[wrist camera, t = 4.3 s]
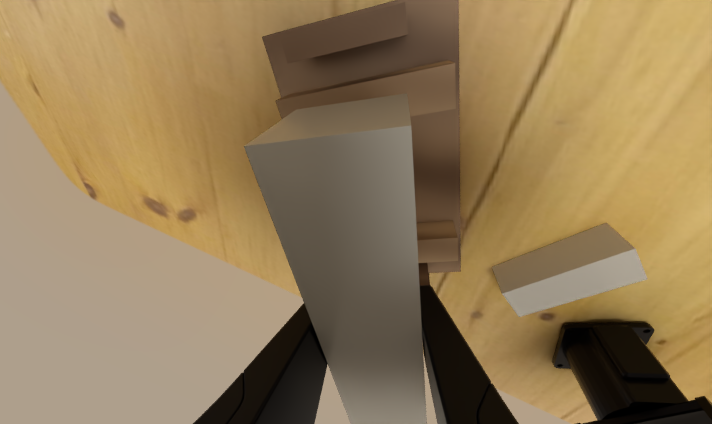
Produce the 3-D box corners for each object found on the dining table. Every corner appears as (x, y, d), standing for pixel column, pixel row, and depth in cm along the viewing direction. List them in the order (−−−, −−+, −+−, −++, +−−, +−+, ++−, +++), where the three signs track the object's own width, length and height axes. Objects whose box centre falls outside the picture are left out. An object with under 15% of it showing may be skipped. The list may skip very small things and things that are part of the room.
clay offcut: (519, 316, 21) (506, 287, 23) (647, 279, 17) (616, 248, 20) (502, 293, 20) (490, 264, 22) (635, 248, 16) (603, 220, 19)
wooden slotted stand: (458, 262, 22) (471, 314, 18) (341, 269, 24) (329, 316, 20) (454, -14, 13) (479, -38, 9) (269, 36, 15) (220, 36, 11)
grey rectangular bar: (422, 358, 13) (427, 434, 11) (360, 356, 14) (352, 427, 11) (407, 93, 7) (410, 125, 4) (296, 109, 7) (243, 146, 5)
